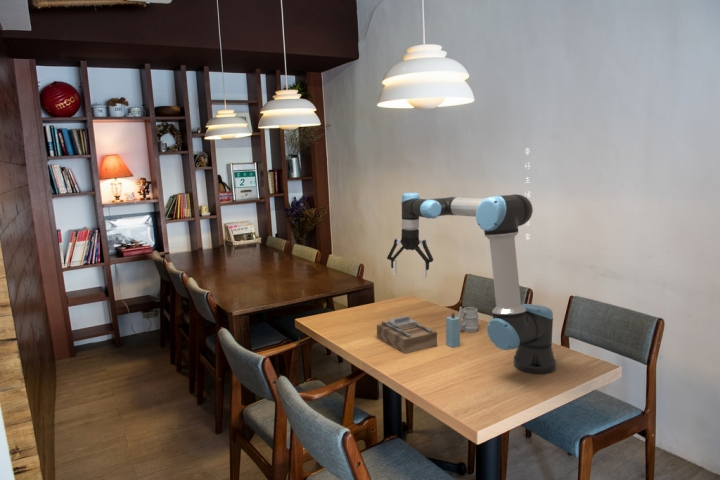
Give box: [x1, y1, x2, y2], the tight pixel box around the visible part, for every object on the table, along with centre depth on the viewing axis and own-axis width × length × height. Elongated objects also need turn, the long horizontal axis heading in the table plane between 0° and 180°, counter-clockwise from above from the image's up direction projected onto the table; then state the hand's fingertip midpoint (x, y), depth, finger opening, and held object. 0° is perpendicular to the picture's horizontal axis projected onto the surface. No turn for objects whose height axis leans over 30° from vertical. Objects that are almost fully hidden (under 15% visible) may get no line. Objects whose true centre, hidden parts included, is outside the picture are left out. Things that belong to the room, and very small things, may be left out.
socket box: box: [376, 320, 438, 355], centre depth 224 cm, size 22×16×7 cm
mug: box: [457, 306, 480, 333], centre depth 236 cm, size 8×12×12 cm, turn 124°
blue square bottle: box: [445, 312, 461, 349], centre depth 218 cm, size 4×4×14 cm
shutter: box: [387, 315, 418, 330], centre depth 226 cm, size 9×9×3 cm
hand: (409, 276), depth 231 cm, fingers open, 13 cm apart
